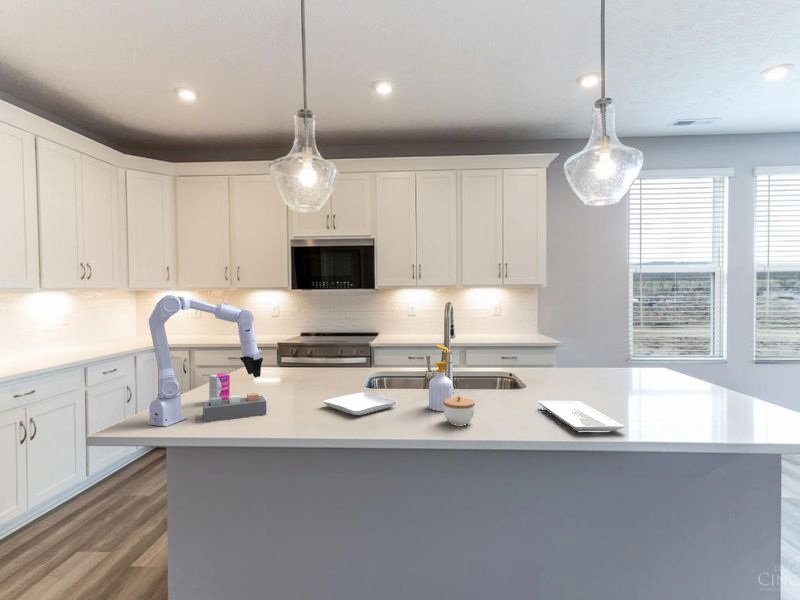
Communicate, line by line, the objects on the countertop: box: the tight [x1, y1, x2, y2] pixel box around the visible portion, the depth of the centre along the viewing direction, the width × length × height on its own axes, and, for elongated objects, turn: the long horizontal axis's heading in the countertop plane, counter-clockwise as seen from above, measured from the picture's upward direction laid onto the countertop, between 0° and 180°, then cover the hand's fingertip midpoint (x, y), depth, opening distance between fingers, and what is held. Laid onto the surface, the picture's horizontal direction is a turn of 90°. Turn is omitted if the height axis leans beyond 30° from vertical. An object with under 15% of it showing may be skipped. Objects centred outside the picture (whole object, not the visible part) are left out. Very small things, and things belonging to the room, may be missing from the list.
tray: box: [538, 400, 625, 432], centre depth 153 cm, size 17×31×4 cm, turn 4°
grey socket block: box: [202, 395, 267, 423], centre depth 159 cm, size 21×9×5 cm, turn 117°
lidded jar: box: [443, 395, 476, 425], centre depth 150 cm, size 11×11×9 cm
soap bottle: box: [428, 344, 453, 412], centre depth 168 cm, size 9×9×25 cm
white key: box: [229, 394, 241, 404], centre depth 159 cm, size 4×4×4 cm
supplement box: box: [208, 373, 231, 402], centre depth 176 cm, size 6×6×12 cm
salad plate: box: [323, 391, 398, 416], centre depth 169 cm, size 21×21×3 cm
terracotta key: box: [246, 392, 260, 402], centre depth 162 cm, size 4×4×4 cm
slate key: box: [210, 397, 222, 406], centre depth 157 cm, size 4×4×4 cm
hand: (254, 375), depth 167 cm, fingers open, 7 cm apart
